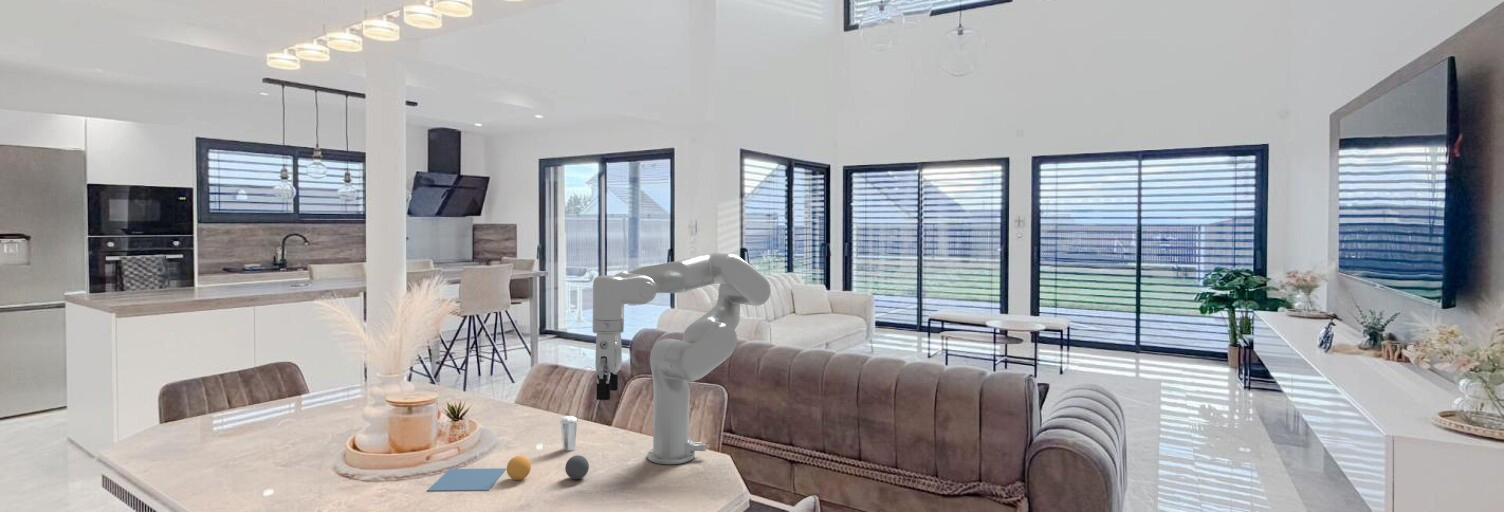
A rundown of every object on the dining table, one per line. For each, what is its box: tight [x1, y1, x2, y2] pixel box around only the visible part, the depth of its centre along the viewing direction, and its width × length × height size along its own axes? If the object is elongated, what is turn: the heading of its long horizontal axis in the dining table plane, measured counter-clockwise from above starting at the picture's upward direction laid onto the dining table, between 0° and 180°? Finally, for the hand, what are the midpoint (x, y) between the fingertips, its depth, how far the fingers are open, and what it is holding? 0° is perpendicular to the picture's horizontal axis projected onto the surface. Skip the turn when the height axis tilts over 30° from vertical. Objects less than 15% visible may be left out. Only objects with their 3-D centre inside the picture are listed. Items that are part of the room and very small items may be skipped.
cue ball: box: [564, 454, 590, 480], centre depth 171 cm, size 6×6×6 cm
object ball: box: [506, 455, 532, 481], centre depth 170 cm, size 6×6×6 cm
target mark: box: [426, 467, 507, 492], centre depth 170 cm, size 14×14×1 cm
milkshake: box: [560, 414, 580, 452], centre depth 193 cm, size 4×5×10 cm
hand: (607, 394), depth 173 cm, fingers open, 9 cm apart
